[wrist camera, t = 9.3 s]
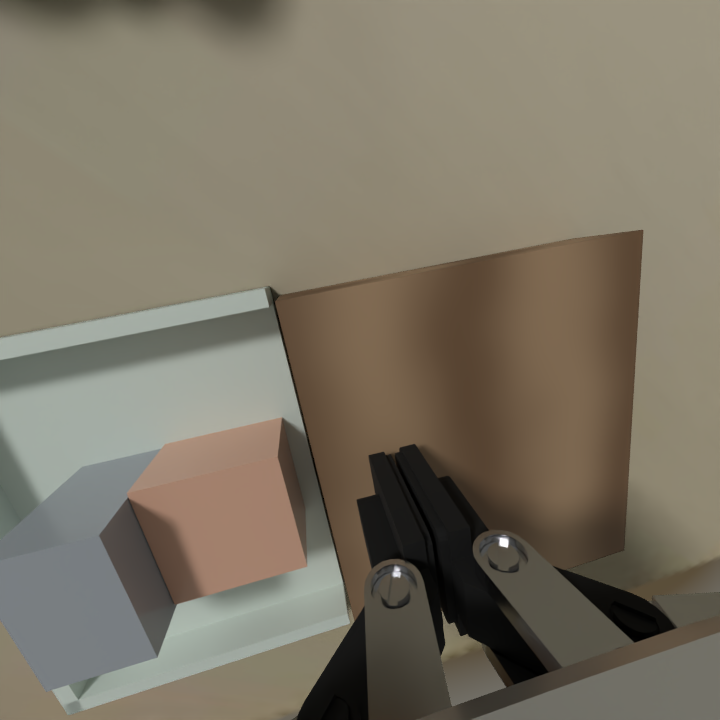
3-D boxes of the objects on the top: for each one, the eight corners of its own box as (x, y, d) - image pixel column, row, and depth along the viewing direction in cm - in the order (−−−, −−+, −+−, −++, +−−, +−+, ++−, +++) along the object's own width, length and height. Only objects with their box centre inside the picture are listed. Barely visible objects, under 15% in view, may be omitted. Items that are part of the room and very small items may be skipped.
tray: (269, 286, 12) (264, 288, 11) (344, 583, 17) (350, 623, 15) (-80, 352, 11) (-159, 368, 9) (97, 659, 15) (68, 715, 13)
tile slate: (98, 535, 8) (-33, 568, 8) (157, 657, 10) (46, 691, 9) (165, 447, 13) (81, 466, 12) (200, 540, 14) (125, 560, 14)
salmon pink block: (281, 417, 13) (277, 456, 10) (305, 508, 15) (307, 566, 12) (165, 443, 13) (126, 493, 10) (199, 537, 14) (174, 605, 11)
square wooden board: (573, 238, 14) (643, 229, 11) (572, 506, 18) (624, 550, 15) (280, 295, 13) (274, 301, 10) (348, 575, 17) (359, 638, 14)
